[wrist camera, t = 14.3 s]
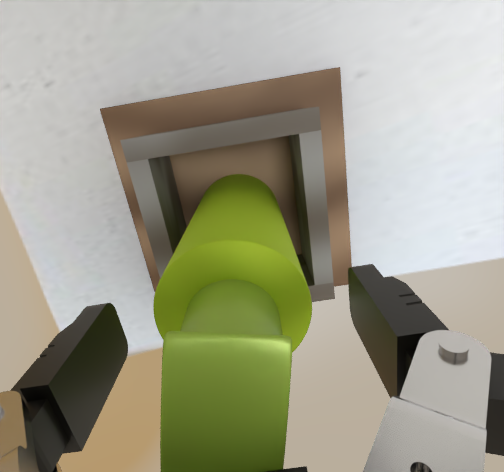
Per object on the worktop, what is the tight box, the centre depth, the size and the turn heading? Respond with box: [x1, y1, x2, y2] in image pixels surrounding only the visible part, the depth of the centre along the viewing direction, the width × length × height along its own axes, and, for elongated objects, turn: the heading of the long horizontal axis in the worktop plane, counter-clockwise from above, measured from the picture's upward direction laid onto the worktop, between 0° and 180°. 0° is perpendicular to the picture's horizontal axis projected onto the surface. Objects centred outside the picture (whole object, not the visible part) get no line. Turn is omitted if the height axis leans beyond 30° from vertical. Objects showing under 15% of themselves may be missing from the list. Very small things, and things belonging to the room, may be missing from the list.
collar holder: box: [100, 67, 352, 302], centre depth 22 cm, size 16×16×6 cm
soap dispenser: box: [154, 174, 312, 472], centre depth 15 cm, size 6×7×20 cm
